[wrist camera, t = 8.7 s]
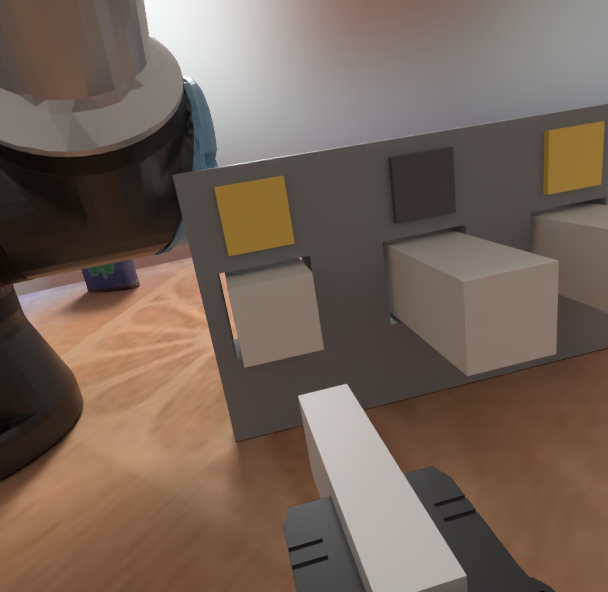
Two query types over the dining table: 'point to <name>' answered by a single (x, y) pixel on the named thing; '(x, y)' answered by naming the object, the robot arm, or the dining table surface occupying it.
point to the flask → (111, 277)
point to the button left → (274, 311)
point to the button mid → (473, 298)
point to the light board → (369, 247)
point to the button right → (575, 249)
